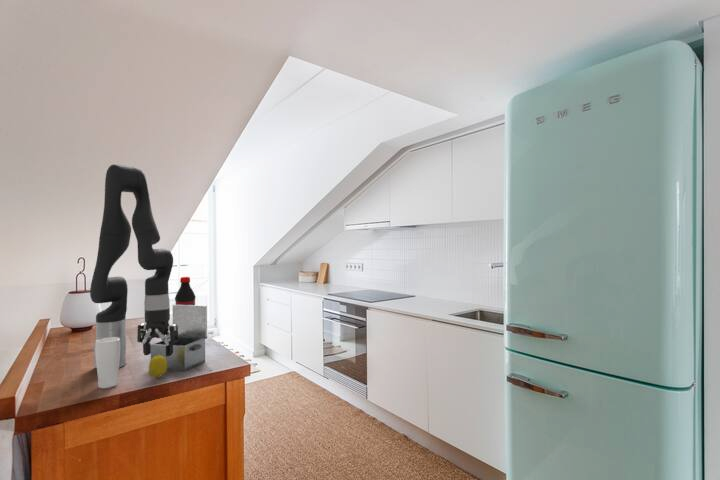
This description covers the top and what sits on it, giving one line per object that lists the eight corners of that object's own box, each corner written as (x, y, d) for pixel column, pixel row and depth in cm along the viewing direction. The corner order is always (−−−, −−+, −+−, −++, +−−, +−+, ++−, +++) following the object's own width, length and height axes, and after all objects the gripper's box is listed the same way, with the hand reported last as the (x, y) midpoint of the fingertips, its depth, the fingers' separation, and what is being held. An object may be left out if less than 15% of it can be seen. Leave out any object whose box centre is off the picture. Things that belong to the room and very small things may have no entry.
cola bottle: (172, 342, 172) (172, 276, 172) (191, 338, 178) (191, 275, 178) (179, 345, 166) (178, 278, 166) (198, 342, 172) (198, 276, 172)
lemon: (163, 374, 132) (162, 351, 132) (170, 377, 128) (170, 354, 128) (146, 378, 127) (146, 355, 127) (153, 382, 124) (152, 358, 124)
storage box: (147, 369, 137) (147, 344, 137) (170, 358, 148) (170, 335, 148) (187, 372, 133) (187, 346, 133) (207, 361, 145) (207, 338, 145)
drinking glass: (95, 391, 116) (95, 343, 116) (95, 385, 122) (94, 339, 122) (121, 386, 120) (121, 340, 120) (120, 380, 126) (119, 335, 126)
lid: (172, 305, 148) (175, 304, 150) (172, 337, 148) (175, 336, 150) (205, 306, 145) (208, 305, 147) (205, 339, 145) (208, 338, 147)
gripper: (130, 309, 125) (131, 357, 125) (167, 309, 122) (168, 359, 122) (147, 305, 133) (148, 351, 133) (183, 305, 130) (183, 352, 130)
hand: (158, 355), depth 127 cm, fingers open, 8 cm apart
